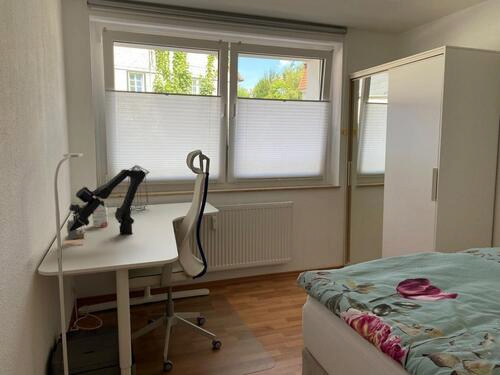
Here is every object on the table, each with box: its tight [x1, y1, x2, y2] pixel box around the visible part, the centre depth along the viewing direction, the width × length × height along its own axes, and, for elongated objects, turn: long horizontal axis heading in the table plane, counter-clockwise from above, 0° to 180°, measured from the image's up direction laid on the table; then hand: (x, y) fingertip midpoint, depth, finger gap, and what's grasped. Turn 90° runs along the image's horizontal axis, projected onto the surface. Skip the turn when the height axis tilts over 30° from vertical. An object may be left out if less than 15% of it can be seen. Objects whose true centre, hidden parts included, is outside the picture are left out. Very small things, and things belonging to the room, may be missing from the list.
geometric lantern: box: [126, 165, 150, 212], centre depth 289 cm, size 16×16×35 cm
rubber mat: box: [61, 238, 85, 248], centre depth 199 cm, size 10×10×1 cm
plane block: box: [67, 226, 85, 241], centre depth 212 cm, size 8×11×4 cm
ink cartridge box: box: [91, 203, 109, 228], centre depth 237 cm, size 9×5×15 cm, turn 105°
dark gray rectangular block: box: [66, 219, 78, 239], centre depth 198 cm, size 5×4×9 cm
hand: (69, 230), depth 197 cm, fingers closed on dark gray rectangular block, 4 cm apart
